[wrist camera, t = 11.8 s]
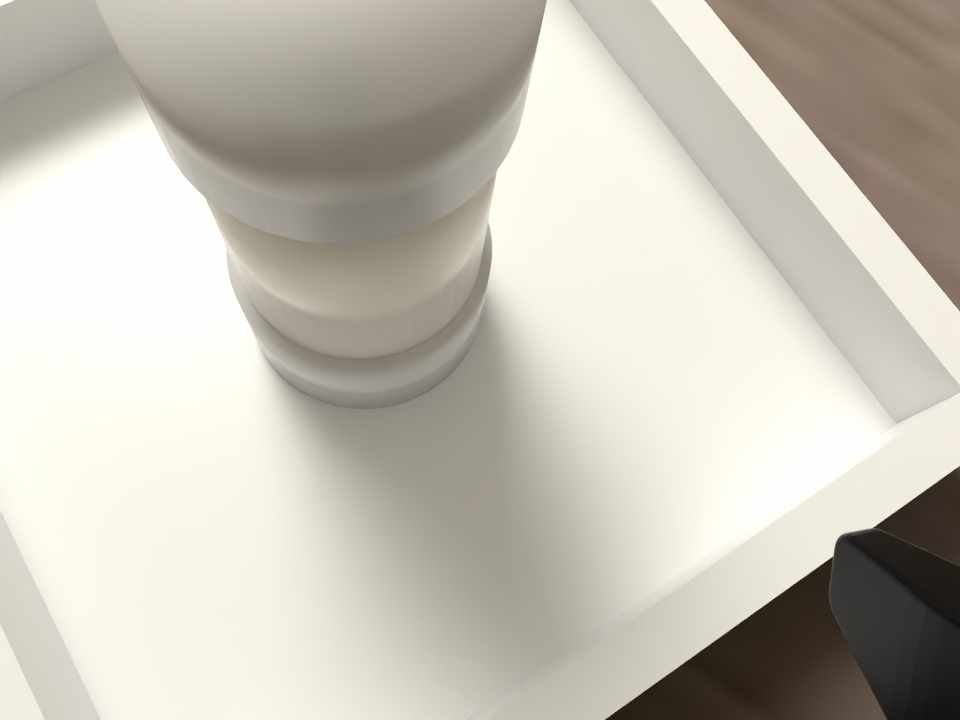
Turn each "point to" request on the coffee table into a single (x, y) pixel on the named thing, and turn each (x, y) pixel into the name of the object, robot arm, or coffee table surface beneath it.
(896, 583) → the robot arm
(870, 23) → the coffee table surface
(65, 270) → the parts tray
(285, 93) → the white light bulb
